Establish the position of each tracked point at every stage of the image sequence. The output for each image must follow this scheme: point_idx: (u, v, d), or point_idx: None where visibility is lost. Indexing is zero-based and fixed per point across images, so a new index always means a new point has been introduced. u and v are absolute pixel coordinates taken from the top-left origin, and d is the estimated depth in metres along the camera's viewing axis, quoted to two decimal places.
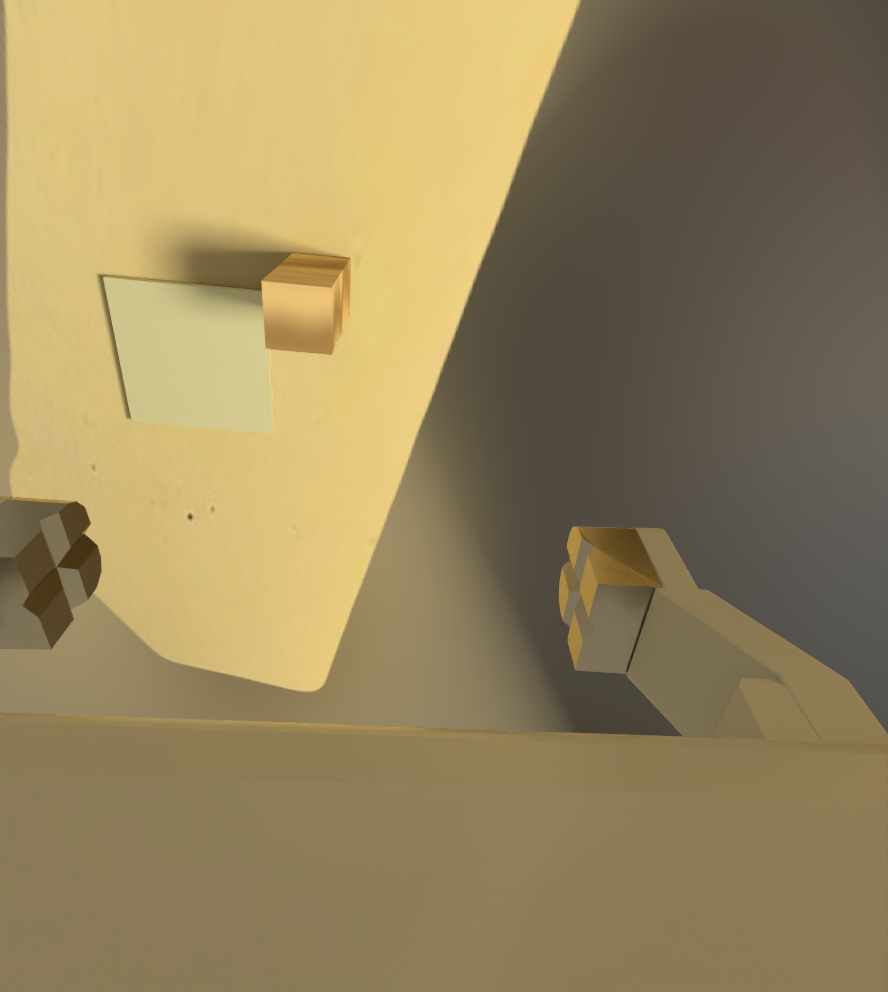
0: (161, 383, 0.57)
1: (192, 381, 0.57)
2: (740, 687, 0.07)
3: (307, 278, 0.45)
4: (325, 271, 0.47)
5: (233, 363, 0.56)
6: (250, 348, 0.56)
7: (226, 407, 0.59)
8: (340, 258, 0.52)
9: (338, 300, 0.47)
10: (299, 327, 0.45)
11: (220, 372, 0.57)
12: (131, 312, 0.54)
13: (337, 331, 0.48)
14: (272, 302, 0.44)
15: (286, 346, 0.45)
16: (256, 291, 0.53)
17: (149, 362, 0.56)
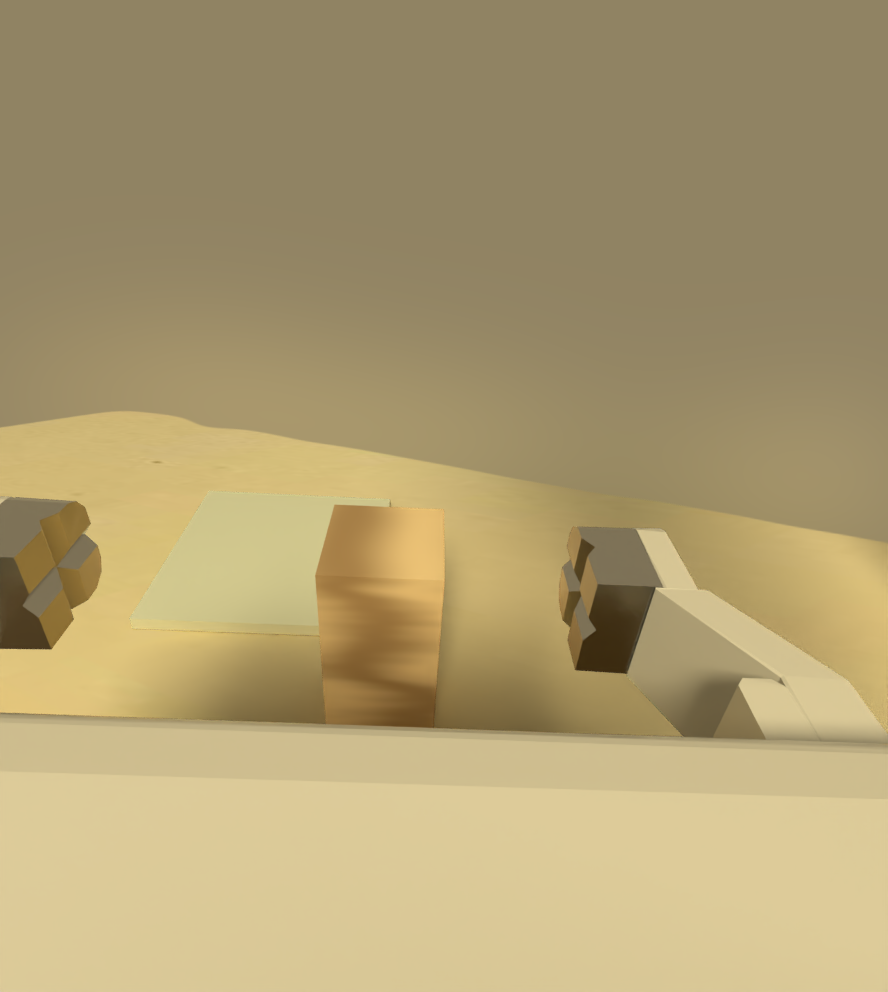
0: (254, 519, 0.43)
1: (250, 544, 0.41)
2: (740, 687, 0.07)
3: None
4: None
5: (267, 585, 0.37)
6: (289, 605, 0.36)
7: (199, 571, 0.38)
8: None
9: (396, 646, 0.25)
10: (371, 540, 0.25)
11: (257, 571, 0.38)
12: None
13: (339, 635, 0.25)
14: (412, 516, 0.27)
15: (337, 524, 0.26)
16: None
17: (285, 514, 0.44)
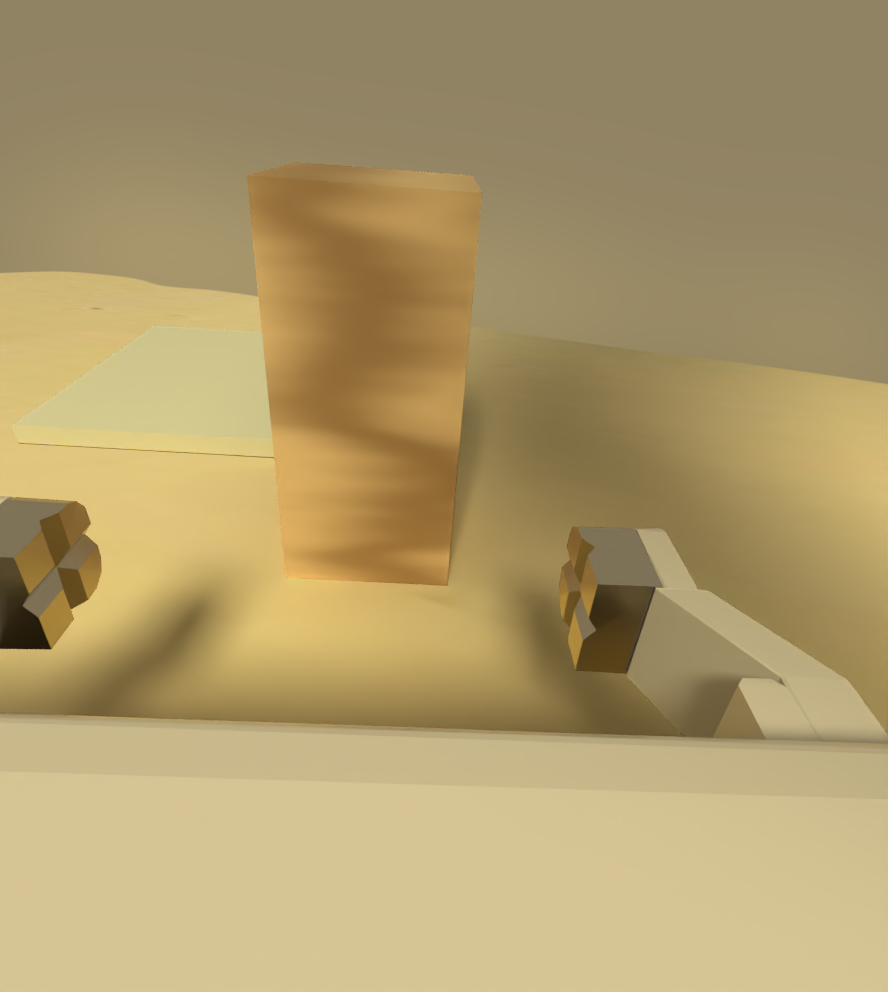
0: (209, 348, 0.33)
1: (199, 368, 0.30)
2: (740, 687, 0.07)
3: None
4: None
5: (216, 402, 0.27)
6: (244, 421, 0.26)
7: (124, 387, 0.28)
8: None
9: (393, 354, 0.15)
10: (351, 174, 0.15)
11: (205, 390, 0.28)
12: None
13: (296, 327, 0.14)
14: (421, 173, 0.16)
15: (296, 166, 0.15)
16: None
17: (250, 346, 0.34)
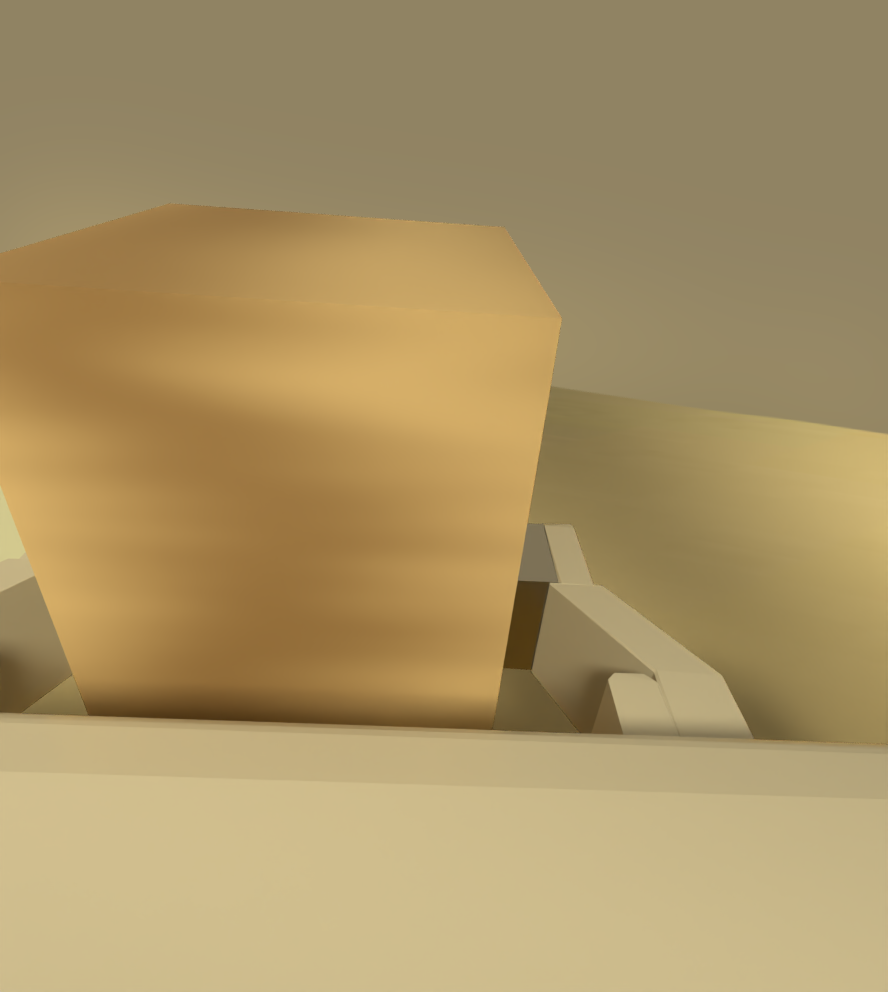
0: None
1: None
2: (609, 682, 0.07)
3: None
4: None
5: None
6: None
7: None
8: None
9: (344, 638, 0.07)
10: (253, 241, 0.07)
11: None
12: None
13: (122, 594, 0.06)
14: (408, 227, 0.08)
15: (149, 219, 0.07)
16: None
17: None
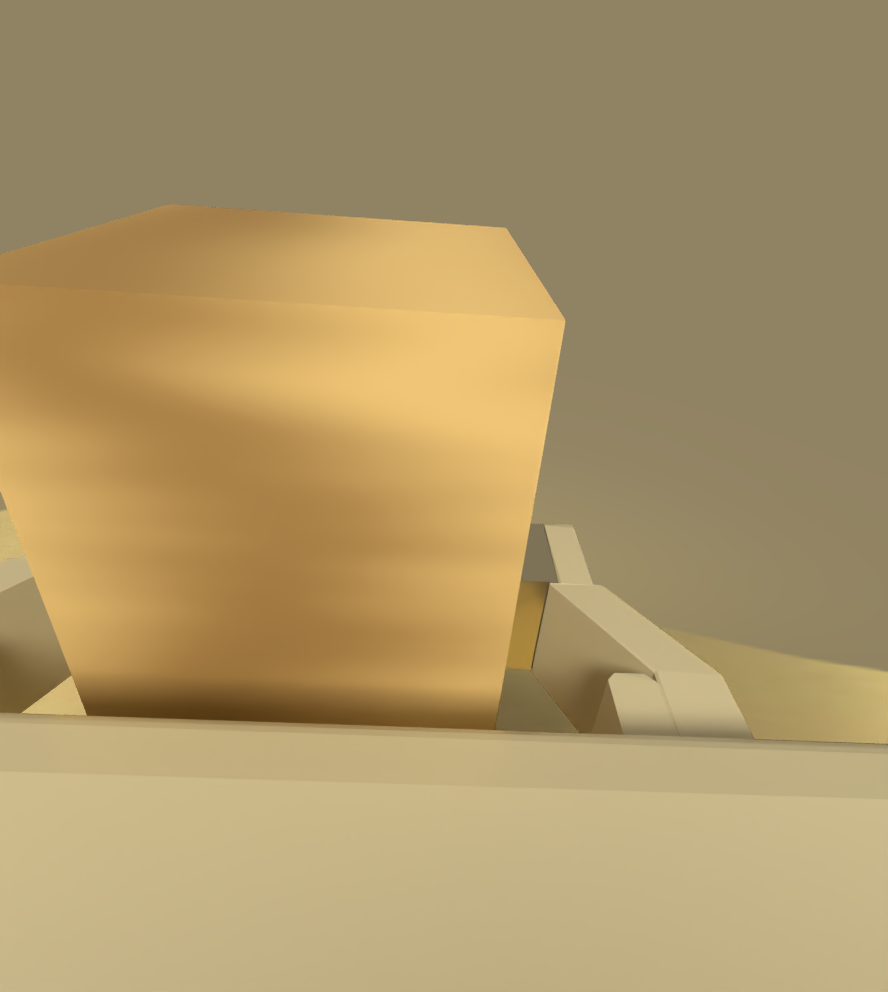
0: None
1: None
2: (609, 682, 0.07)
3: None
4: None
5: None
6: None
7: None
8: None
9: (345, 641, 0.07)
10: (254, 243, 0.07)
11: None
12: None
13: (122, 597, 0.06)
14: (409, 228, 0.08)
15: (149, 220, 0.07)
16: None
17: None
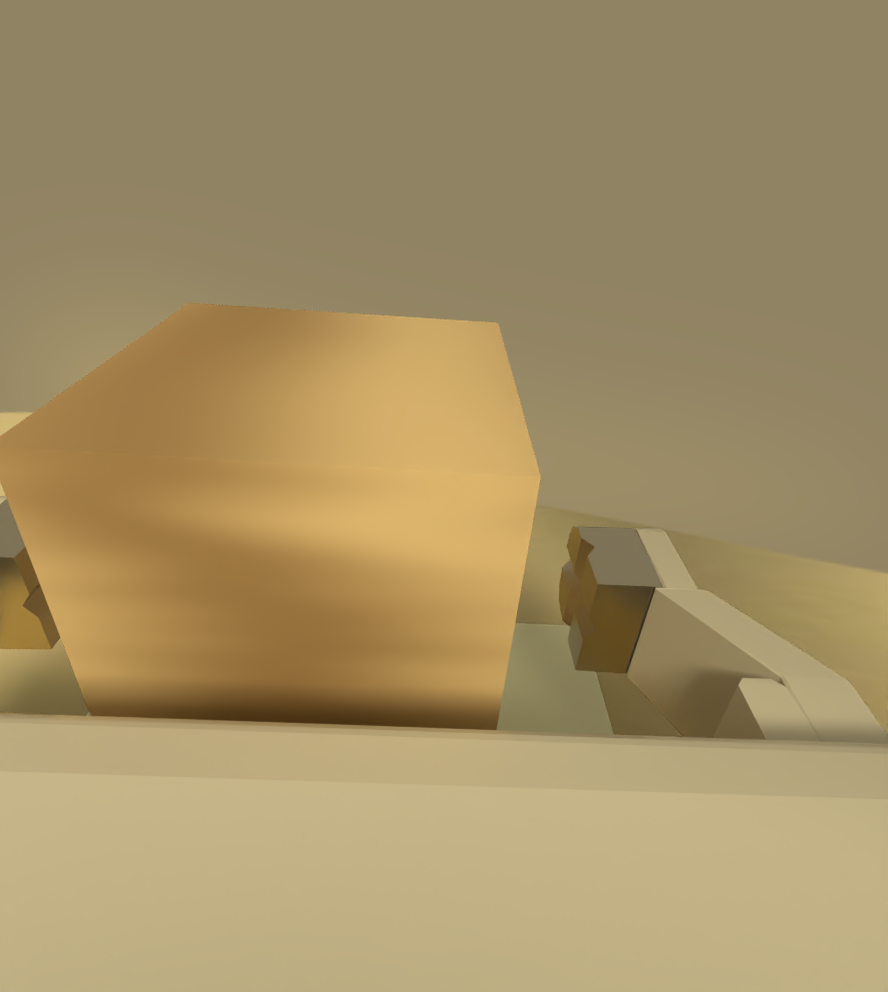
0: None
1: None
2: (740, 687, 0.07)
3: None
4: None
5: None
6: None
7: None
8: None
9: (350, 724, 0.07)
10: (268, 366, 0.07)
11: None
12: None
13: (152, 688, 0.07)
14: (409, 330, 0.09)
15: (173, 333, 0.08)
16: None
17: None
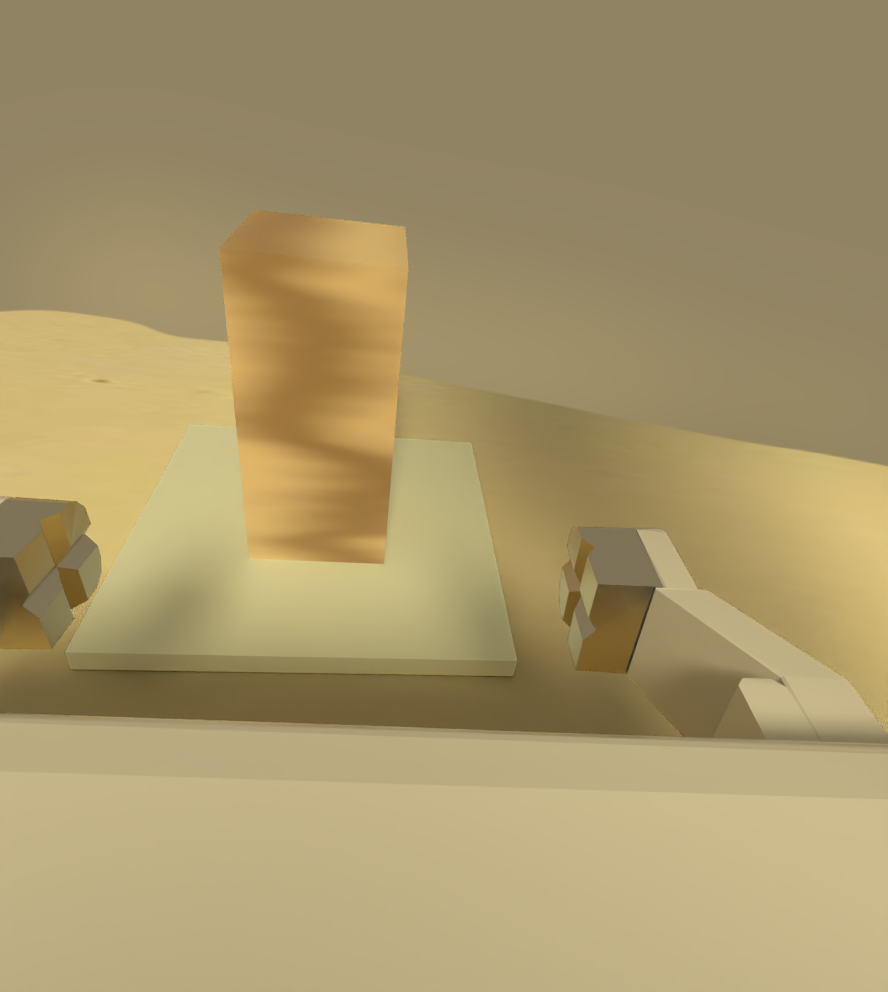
0: None
1: None
2: (740, 687, 0.07)
3: None
4: None
5: (315, 582, 0.21)
6: (361, 620, 0.20)
7: (190, 557, 0.22)
8: None
9: (338, 385, 0.18)
10: (304, 235, 0.18)
11: None
12: (416, 458, 0.29)
13: (259, 363, 0.18)
14: (362, 226, 0.20)
15: (257, 221, 0.18)
16: (512, 647, 0.20)
17: None
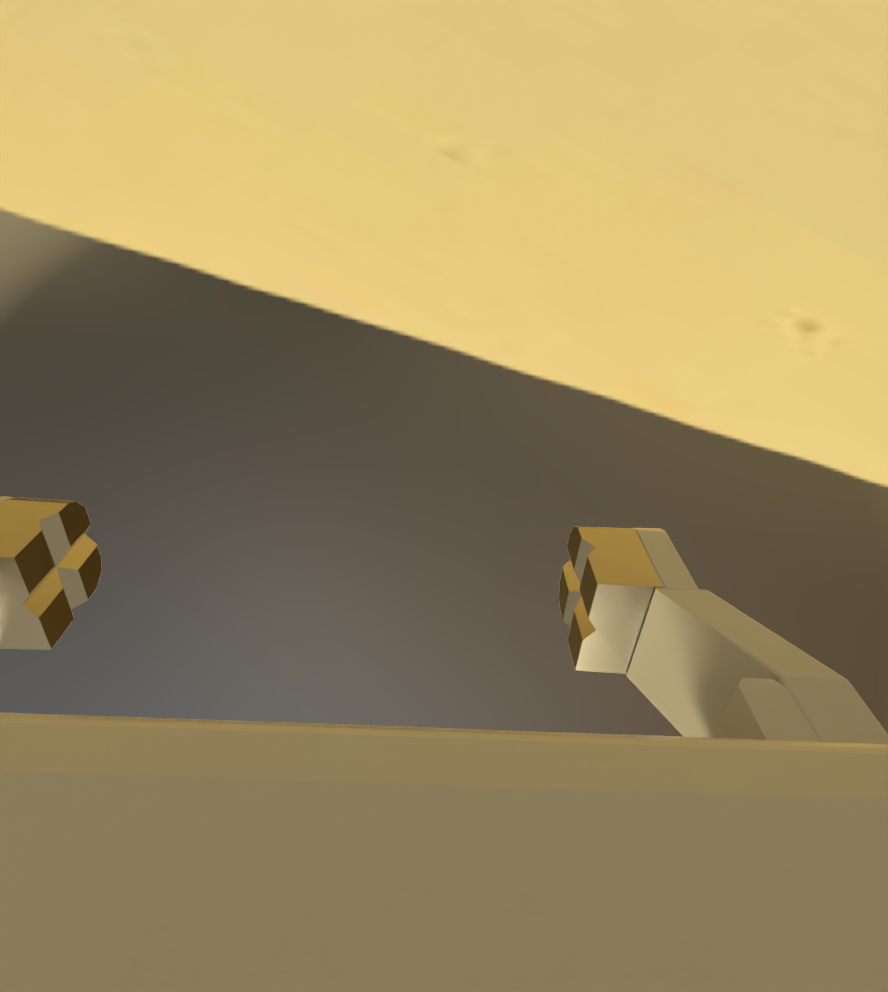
0: None
1: None
2: (740, 687, 0.07)
3: None
4: None
5: None
6: None
7: None
8: None
9: None
10: None
11: None
12: None
13: None
14: None
15: None
16: None
17: None
